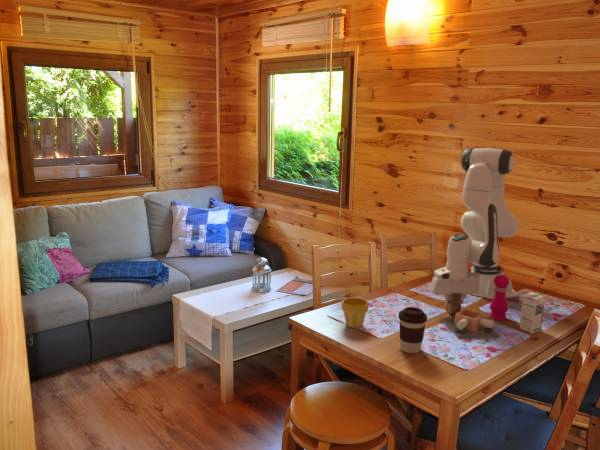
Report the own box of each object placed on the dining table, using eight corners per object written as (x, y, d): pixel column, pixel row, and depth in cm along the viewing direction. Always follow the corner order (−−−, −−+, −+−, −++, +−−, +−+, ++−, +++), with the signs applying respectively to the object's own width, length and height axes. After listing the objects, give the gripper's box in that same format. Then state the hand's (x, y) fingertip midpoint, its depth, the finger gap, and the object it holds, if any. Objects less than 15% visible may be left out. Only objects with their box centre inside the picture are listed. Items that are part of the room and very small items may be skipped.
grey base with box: (441, 319, 214) (442, 305, 212) (478, 318, 215) (479, 305, 214) (458, 338, 196) (459, 323, 195) (498, 337, 198) (500, 322, 196)
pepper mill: (485, 317, 217) (490, 271, 213) (493, 312, 222) (497, 268, 218) (502, 322, 212) (507, 275, 208) (509, 317, 217) (514, 271, 213)
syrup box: (532, 333, 201) (536, 298, 198) (519, 328, 206) (522, 294, 203) (541, 330, 204) (545, 296, 201) (527, 325, 209) (531, 291, 206)
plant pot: (346, 317, 214) (347, 295, 212) (370, 322, 210) (371, 299, 207) (337, 326, 205) (338, 303, 203) (362, 332, 200) (363, 308, 198)
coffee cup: (407, 357, 180) (409, 317, 177) (391, 345, 189) (393, 307, 186) (430, 352, 184) (433, 313, 181) (413, 341, 193) (416, 303, 190)
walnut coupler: (456, 309, 224) (457, 289, 222) (460, 313, 220) (462, 293, 218) (446, 309, 224) (447, 289, 222) (450, 313, 219) (451, 293, 217)
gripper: (477, 269, 222) (474, 300, 225) (430, 270, 220) (428, 301, 223) (483, 274, 216) (480, 305, 219) (435, 275, 214) (433, 306, 217)
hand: (453, 303), depth 221 cm, fingers closed on walnut coupler, 4 cm apart
